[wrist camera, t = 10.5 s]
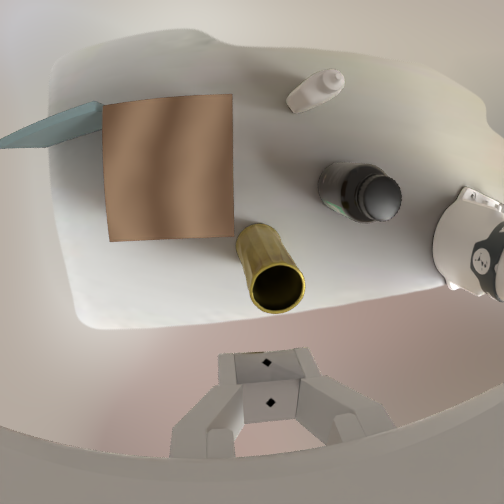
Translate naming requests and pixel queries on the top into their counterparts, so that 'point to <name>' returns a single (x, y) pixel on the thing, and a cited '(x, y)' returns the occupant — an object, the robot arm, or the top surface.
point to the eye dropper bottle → (316, 90)
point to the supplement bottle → (359, 192)
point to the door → (57, 128)
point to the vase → (269, 270)
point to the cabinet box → (169, 168)
